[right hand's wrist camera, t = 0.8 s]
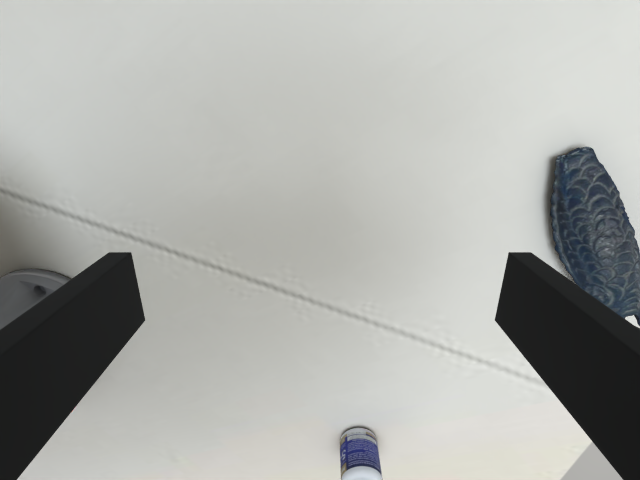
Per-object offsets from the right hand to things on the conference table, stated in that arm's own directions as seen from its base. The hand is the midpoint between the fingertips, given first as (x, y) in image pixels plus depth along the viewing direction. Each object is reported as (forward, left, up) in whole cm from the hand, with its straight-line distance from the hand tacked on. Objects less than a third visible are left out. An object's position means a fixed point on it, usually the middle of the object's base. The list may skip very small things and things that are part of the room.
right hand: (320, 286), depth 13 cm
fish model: (+23, -19, -26) cm, 39 cm away
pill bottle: (-11, -37, -26) cm, 47 cm away
